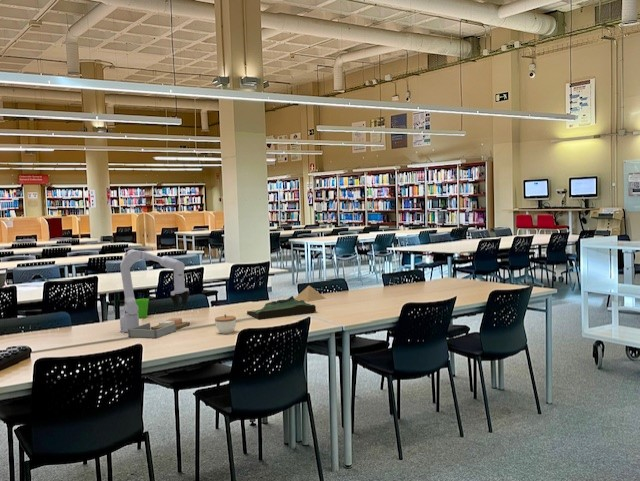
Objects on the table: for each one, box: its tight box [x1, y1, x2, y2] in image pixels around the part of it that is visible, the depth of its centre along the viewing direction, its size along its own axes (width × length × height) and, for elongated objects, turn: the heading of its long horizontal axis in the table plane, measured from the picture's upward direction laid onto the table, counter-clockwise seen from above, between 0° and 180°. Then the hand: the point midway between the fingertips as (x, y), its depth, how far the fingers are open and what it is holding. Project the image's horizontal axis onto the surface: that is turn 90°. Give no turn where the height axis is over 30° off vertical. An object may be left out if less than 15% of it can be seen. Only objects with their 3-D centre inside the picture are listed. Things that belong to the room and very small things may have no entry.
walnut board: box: [150, 321, 191, 331], centre depth 330 cm, size 14×16×2 cm
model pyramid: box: [294, 285, 327, 303], centre depth 412 cm, size 17×17×10 cm
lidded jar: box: [214, 313, 237, 335], centre depth 311 cm, size 11×11×9 cm
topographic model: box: [246, 295, 317, 320], centre depth 360 cm, size 36×22×10 cm, turn 114°
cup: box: [135, 298, 150, 319], centre depth 365 cm, size 9×9×11 cm
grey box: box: [127, 322, 177, 339], centre depth 315 cm, size 17×17×4 cm
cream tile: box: [158, 320, 175, 327], centre depth 327 cm, size 6×6×2 cm
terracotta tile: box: [165, 317, 183, 325], centre depth 333 cm, size 6×6×2 cm
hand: (180, 306), depth 337 cm, fingers open, 7 cm apart
